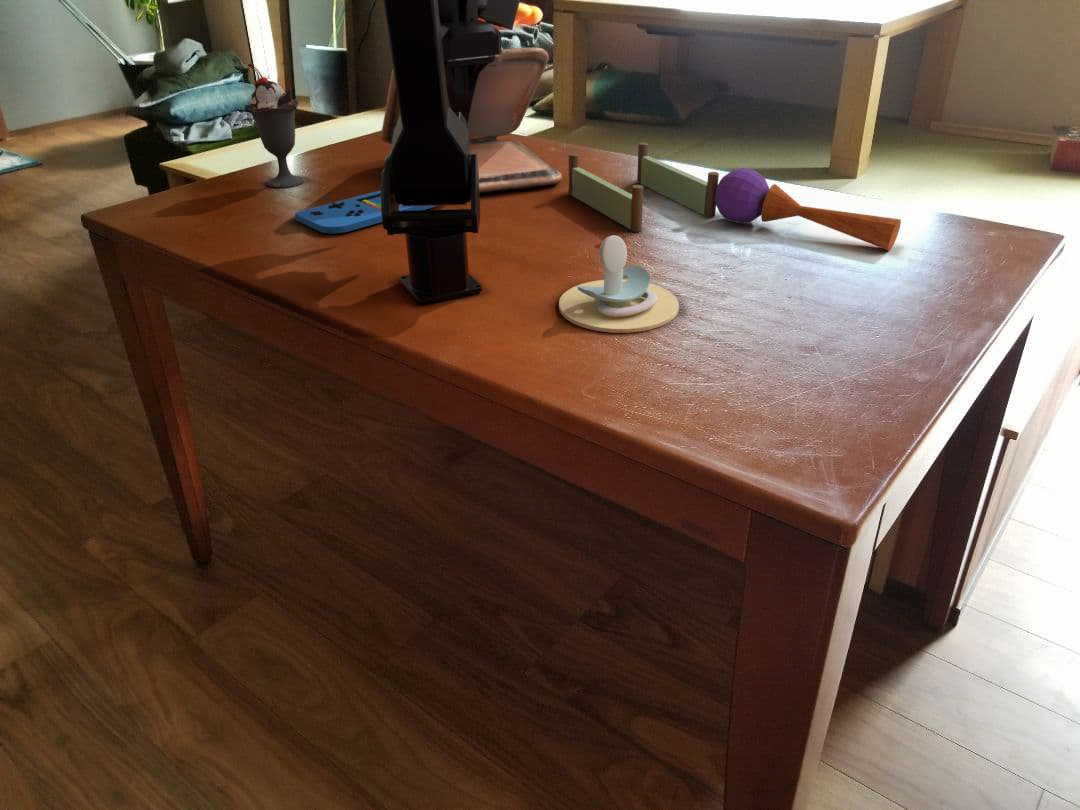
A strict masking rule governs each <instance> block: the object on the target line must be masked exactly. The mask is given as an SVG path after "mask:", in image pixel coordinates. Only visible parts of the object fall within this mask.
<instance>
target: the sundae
mask: <svg viewBox="0 0 1080 810" xmlns="http://www.w3.org/2000/svg"><path fill="white" fill-rule="evenodd" d="M247 67H249V68H251V69H252V70H253V71H254V72H255V73H256V75H257V76H256V77H257V80H255V81H254V83H253V86H254V88H255V89H254V91H253V92H252V93H251V95H250V100H249V102H250V104H245V105H244V109H245V110H246V111H247V112H249V113H250V114H251V116H252V118H253V120H254V123H255V126H256V128H257V131H258V135H259V138H260V141H261V143H262V146H263V147H264V149H265V150H266V151H267V152H268V153H269V154H271V155H273V156H274V157H276V159H277V164H278V172H277V175H276V176H275V177H273V178H270V179H268V180H267V181H266V185H267V186H268V187H270V188H275V189H282V188H284V189H286V188H292V187H297V186H300V185H302V184H304V182H305V181H306V179H305V178H304V177H303V176H300V175H294V174H293V173H291V171H290V169H289V166H288V162H287V156H288V155H289V154H290V153H291V152H292V151H293V149H294V147H295V146H296V145H295V144H296V121H295V117H296V116H295V113H296V112H295V110H296V109H297V108H298V107H299V103H300V101H299V99H292V89H291V88H290V87H289V88H287V89H286V90H285V91H284V87H283V86H281V85H280V84H278V83H277V82H275V81H272V80H269V79H268V78H267V77H265V76H262V74H261V72H260V70H259V69H258V68H257V67H256V66H254V63H253V62H252V63H248V64H247Z"/></svg>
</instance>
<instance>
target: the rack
mask: <svg viewBox="0 0 1080 810" xmlns="http://www.w3.org/2000/svg"><path fill="white" fill-rule="evenodd" d="M637 146H638V147H637V149H638V150H637V171H636V172H637V174H636V175H637V177H636V178H637V179H636V183H637V184H634V185H632V187H631V193H630V192H628V191H626V190H624V189H622V188H620V187H618V186H617V185H615V184H612V183H610V182H608V180H607V181H606V180H605V179H603V178H601V177H599V176H597V175H595V174H593V173H592V172H589V171H587V170H585V169H583V168H582V167H579V153H577V152H571V153H568V195H569V196H572V197H573V198H575V199H576V200H578V201H580V202H582V203H583V204H584V205H587V206H589V207H591V208H592V209H594V210H595V211H597V212H599V213H601V214H602V215H605V216H606V217H607V218H609V219H611V220H613V221H615V222H617V223H618V224H620V225H622V226H623V227H625V228H627V229H628V230H630V231H631V232H633V233H640V232H641V231H642V230H643V209H644V208H643V206H644V205H643V204H644V187H646V188H649V189H651V191H655V192H656V193H658V194H661V195H662V196H664V197H667V198H668V199H670V200H673V201H675V202H676V203H679V204H681V205H683V206H685V207H687V208H689V209H691V210H692V211H695V212H697V213H699V214H701V215H703V216H705V217H706V218H714V217H716V211H717V206H716V204H715V192H716V188H717V186H718V184H719V178H720V173H719V171H718V172H717V171H709V172H708V173H707V180H704V179H701V178H699V177H698V176H694V175H692V174H690V173H688V172H686V171H684V170H682V169H679V168H677V167H674V166H672V165H670V164H667V163H665V162H663V161H661V160H658V159H656V158H654V157H653V156H649V155H648V152H649V143H648V142H645V141H644V142H642V141H641V142H639V143H638V145H637Z"/></svg>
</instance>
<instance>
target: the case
mask: <svg viewBox="0 0 1080 810" xmlns="http://www.w3.org/2000/svg"><path fill="white" fill-rule="evenodd" d="M495 56H496V59H495V60H494V62H492V63H489V64H488V65H487V66H486V67H485V68H484V69H483V70H482V71H481V72H480V74H479V77H478V80H477V84H476V87H475V92H474V96H473V101H472V105H471V110H470V114H469V119H468V123H467V125H466V127H467V129H468V133H469V142H470V152H471V154H477V156H478V168H479V193H489V192H490V193H491V192H499V191H507V190H508V191H509V190H517V189H519V190H520V189H527V188H528V189H529V188H536V187H537V188H538V187H544V186H545V187H546V186H552V185H556V184H558V183H560V182H561V181H562V180H563V175H562V173H561V172H560V171H559V170H557V169H556V168H555V167H553V166H552V165H550V164H549V163H548V162H546V161H545V160H544V159H542V158H541V157H540V156H538V155H537V154H535V152H533V151H532V150H530V149H529V148H527V147H526V146H525V145H524V144H522V143H521V142H519V141H516V140H512V139H498V138H500V137H504V136H507V135H510V134H512V133H514V132H515V131H516V130H518V129H519V127H520V126H521V124H522V122H523V119H524V118H525V115H526V113H527V110H528V108H529V107H530V105H531V102H532V99H533V97H534V95H535V92H536V90H537V88H538V87H539V84H540V81H541V79H542V77H543V74H544V73H545V70H546V67H547V65H548V62H549V60H550V59H549V58H550V57H549V53H548V52H547V50H545V49H544V48H541V47H516V48H504V49H503V48H502V54H500V55H495ZM399 116H400V108H399V101H398V95H397V88H396V81H395V75H394V68H393V67H392V70H391V74H390V80H389V86H388V93H387V99H386V104H385V110H384V117H383V121H382V122H383V123H382V128H381V134H380V138H381V140H382V141H383V142H384V143H385V144H389V145H392V139H393V132H394V129H395V127H396V125H397V121H398V118H399ZM387 156H390V153H389V154H387V155H386V156H385V158H384V163H386V158H387ZM470 195H471V193H470Z"/></svg>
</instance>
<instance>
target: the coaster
mask: <svg viewBox="0 0 1080 810" xmlns="http://www.w3.org/2000/svg"><path fill="white" fill-rule="evenodd" d="M625 281H627V278H623V280H622V282H625ZM578 286H589V287H603V286H604V279H598V280H593V281H592V280H591V281H588V282H584V283H580V284H578V285H575V286H573V287H571V288H569V289H567V290H566V291H564V292H563V293H562V295H561V296H560V298H559V299H558V300H559V301H558V310H559V313H560V314H561V316H562V317H564V319H565V320H567V321H568V322H570V323H572V324H574V325H576V326H578V327H581V328H585V329H587V330H592V331H597V332H600V333H601V332H602V333H611V334H612V333H616V334H624V333H625V334H631V333H639V332H645V331H650V330H655V329H657V328H660V327H662V326H664V325H666V324H668V323H670V322H672V321H673V320H674V318H676V317H677V315H678V313H679V309H680V303H679V300H678V298H677V296H675V295H674V293H672V292H671V291H670V290H668V289H667V288H664V287H662V286H660V285H658V284H654V283H651V282H650V283H649V286H648V289H647V290H649V291H652V292H654V293H655V294H656V296H657V301H656V303H655V304H654V305H653V306H652V307H651V308H649V309H647V310H645V311H643V312H640V313H638V314H634V315H629V316H608V315H605V314H602V313H600V312H599V310H598V309H597V305H598V299H596V298H593V297H590V296H588V295H586V294H584V293H582V292H581V291H579V290H578ZM645 300H646V298H644V297H641V296H640V297H638V298H637V299H634V300H632V302H631V303H630V304H629V305H627V306H625V307H631V306H635V305H637V304H640V303H642V302H643V301H645ZM625 307H622V308H625Z"/></svg>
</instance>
